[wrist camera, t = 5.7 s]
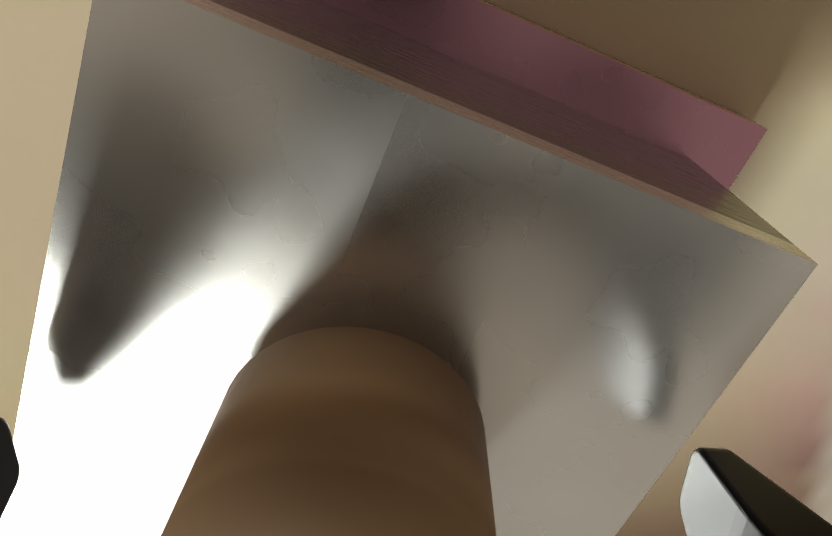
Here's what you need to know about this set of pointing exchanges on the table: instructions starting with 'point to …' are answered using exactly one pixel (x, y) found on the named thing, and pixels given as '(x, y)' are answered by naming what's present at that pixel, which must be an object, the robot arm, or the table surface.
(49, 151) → the table surface
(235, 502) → the plunger
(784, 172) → the table surface
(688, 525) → the robot arm
